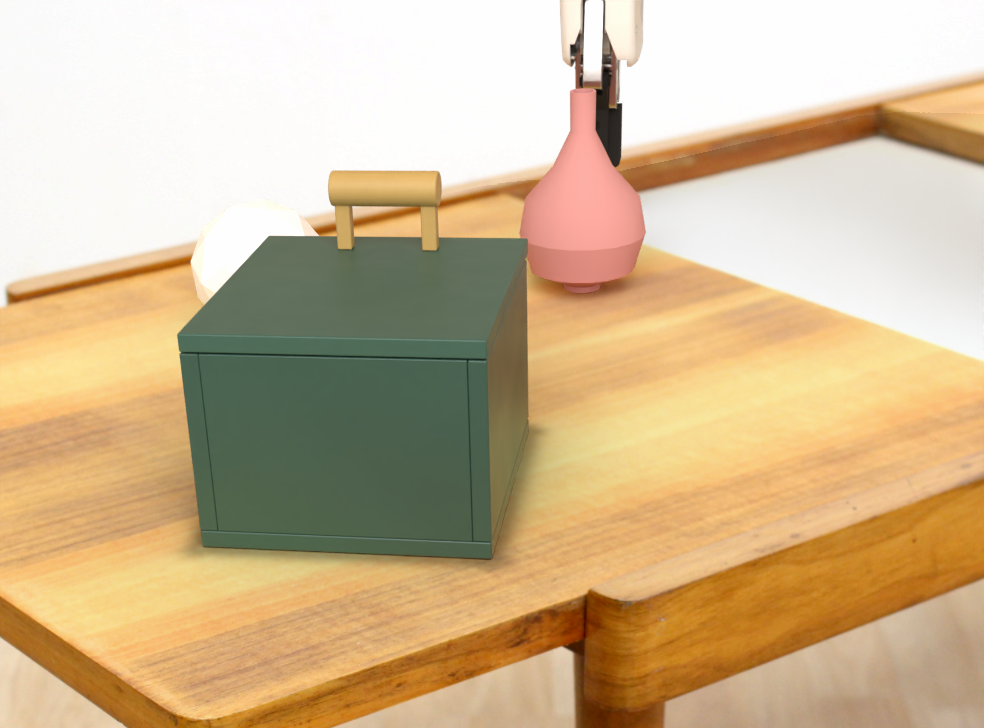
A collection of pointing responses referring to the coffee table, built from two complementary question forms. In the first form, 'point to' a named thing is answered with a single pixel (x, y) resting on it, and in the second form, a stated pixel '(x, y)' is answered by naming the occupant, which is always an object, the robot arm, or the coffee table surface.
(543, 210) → the pink vase
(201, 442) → the bin
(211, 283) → the geometric ball
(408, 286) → the bread bin lid
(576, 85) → the robot arm
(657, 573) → the coffee table surface
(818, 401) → the coffee table surface
